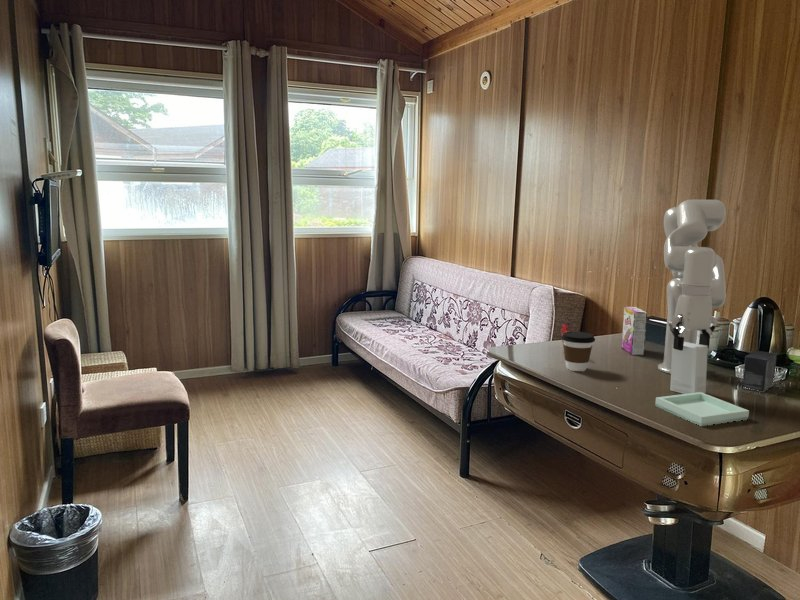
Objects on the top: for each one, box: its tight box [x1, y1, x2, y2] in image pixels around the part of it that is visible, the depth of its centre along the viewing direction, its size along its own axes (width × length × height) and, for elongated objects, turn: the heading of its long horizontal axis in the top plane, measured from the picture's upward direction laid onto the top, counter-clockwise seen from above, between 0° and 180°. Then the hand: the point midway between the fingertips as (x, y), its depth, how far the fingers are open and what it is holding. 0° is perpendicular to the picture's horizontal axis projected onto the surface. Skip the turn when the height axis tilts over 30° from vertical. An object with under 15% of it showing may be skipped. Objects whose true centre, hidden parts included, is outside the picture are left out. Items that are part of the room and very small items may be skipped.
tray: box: [654, 392, 750, 427], centre depth 163 cm, size 16×16×2 cm
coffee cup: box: [561, 331, 596, 372], centre depth 202 cm, size 11×11×12 cm
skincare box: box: [669, 342, 709, 394], centre depth 179 cm, size 8×6×15 cm
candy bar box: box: [621, 306, 648, 356], centre depth 226 cm, size 11×5×16 cm, turn 179°
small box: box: [741, 350, 778, 391], centre depth 185 cm, size 11×6×10 cm, turn 135°
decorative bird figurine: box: [560, 323, 571, 345], centre depth 223 cm, size 3×18×10 cm, turn 8°
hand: (691, 348), depth 177 cm, fingers open, 9 cm apart
